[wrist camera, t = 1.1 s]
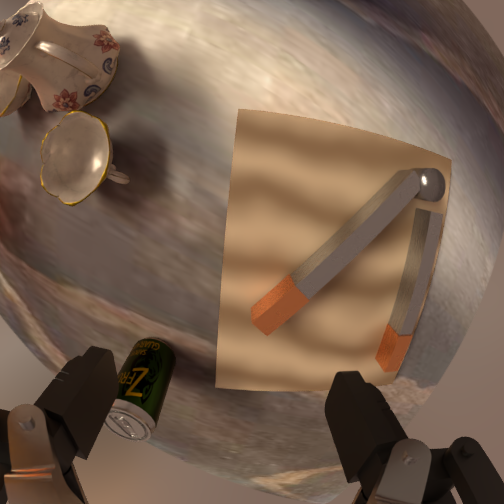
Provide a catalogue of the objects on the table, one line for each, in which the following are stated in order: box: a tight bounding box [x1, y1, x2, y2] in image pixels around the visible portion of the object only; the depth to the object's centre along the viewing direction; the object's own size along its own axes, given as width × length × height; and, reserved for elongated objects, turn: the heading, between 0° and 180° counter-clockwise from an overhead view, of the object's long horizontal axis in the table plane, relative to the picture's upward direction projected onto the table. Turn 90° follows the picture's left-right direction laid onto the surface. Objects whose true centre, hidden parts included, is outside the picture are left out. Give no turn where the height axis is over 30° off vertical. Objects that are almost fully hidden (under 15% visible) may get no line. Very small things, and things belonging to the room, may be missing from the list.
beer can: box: [104, 337, 176, 442], centre depth 24 cm, size 5×5×12 cm
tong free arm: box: [251, 168, 446, 336], centre depth 24 cm, size 23×4×3 cm, turn 134°
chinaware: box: [0, 1, 130, 206], centre depth 14 cm, size 28×17×17 cm, turn 55°
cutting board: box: [215, 109, 452, 391], centre depth 27 cm, size 30×24×2 cm
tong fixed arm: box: [375, 208, 443, 373], centre depth 26 cm, size 18×2×3 cm, turn 174°
